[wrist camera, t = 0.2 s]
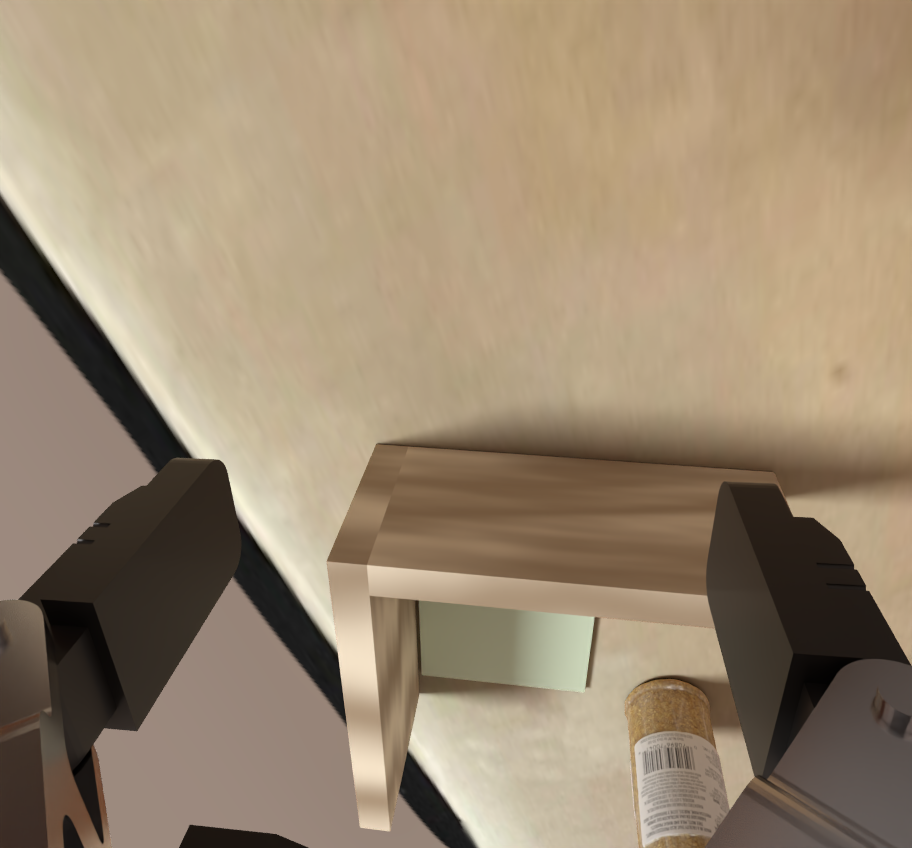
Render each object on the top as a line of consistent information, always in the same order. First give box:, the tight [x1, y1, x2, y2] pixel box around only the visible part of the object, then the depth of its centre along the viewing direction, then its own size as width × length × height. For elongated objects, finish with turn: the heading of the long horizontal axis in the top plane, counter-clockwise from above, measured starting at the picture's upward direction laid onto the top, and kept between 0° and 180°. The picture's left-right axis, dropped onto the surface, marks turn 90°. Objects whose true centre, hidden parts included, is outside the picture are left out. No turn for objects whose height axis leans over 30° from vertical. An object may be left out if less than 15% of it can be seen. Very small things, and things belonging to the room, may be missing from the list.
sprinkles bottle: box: [625, 679, 730, 848], centre depth 33 cm, size 5×5×14 cm
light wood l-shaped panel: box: [327, 444, 791, 831], centre depth 33 cm, size 17×18×8 cm
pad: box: [419, 600, 595, 693], centre depth 37 cm, size 9×9×1 cm
